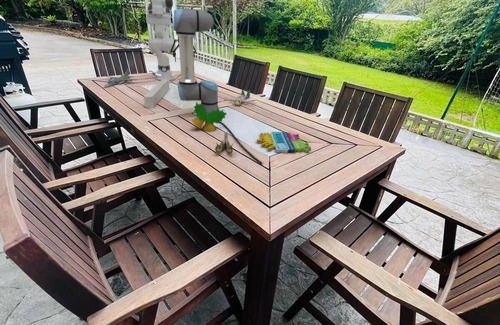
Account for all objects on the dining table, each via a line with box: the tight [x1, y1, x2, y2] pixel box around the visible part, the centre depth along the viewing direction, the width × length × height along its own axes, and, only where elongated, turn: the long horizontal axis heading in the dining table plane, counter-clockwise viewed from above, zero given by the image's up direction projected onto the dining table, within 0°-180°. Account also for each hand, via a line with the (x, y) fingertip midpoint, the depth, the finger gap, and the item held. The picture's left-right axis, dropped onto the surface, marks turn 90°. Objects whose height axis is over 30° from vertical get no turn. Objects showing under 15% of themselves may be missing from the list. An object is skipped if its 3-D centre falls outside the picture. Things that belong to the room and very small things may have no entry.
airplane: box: [102, 68, 138, 88], centre depth 247 cm, size 38×31×10 cm
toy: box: [223, 89, 257, 106], centre depth 219 cm, size 28×7×30 cm
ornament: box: [191, 101, 228, 132], centre depth 162 cm, size 21×8×15 cm, turn 105°
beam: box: [143, 79, 171, 109], centre depth 216 cm, size 59×6×8 cm, turn 3°
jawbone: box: [214, 131, 234, 156], centre depth 136 cm, size 9×15×10 cm
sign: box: [256, 131, 312, 154], centre depth 152 cm, size 26×2×30 cm
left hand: (159, 30), depth 225 cm, fingers open, 8 cm apart
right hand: (184, 61), depth 211 cm, fingers open, 13 cm apart
